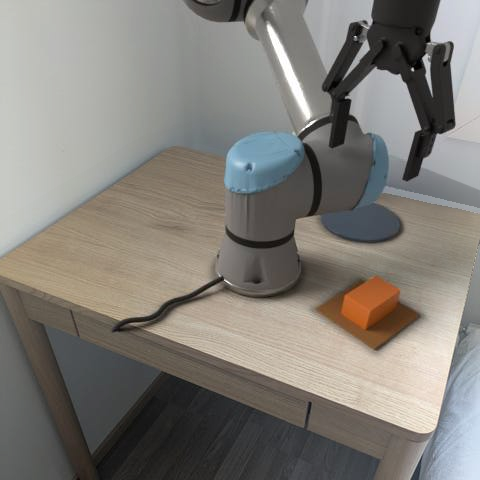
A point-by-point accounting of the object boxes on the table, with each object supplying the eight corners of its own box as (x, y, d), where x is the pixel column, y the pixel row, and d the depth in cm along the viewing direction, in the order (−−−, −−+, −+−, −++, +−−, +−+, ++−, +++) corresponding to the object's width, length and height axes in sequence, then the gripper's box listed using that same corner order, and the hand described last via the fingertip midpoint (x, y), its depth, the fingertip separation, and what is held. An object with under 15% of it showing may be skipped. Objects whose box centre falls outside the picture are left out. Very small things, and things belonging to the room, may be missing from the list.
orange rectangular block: (365, 330, 77) (370, 311, 74) (340, 314, 80) (344, 295, 77) (395, 308, 81) (401, 289, 78) (371, 294, 84) (375, 275, 81)
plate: (366, 252, 94) (367, 249, 93) (304, 218, 102) (305, 215, 102) (414, 223, 102) (415, 221, 101) (353, 194, 110) (354, 192, 110)
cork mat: (374, 350, 74) (375, 348, 74) (315, 310, 81) (315, 308, 81) (419, 316, 80) (420, 314, 80) (361, 281, 87) (361, 279, 87)
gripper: (530, -2, 52) (462, 185, 66) (347, -34, 65) (324, 127, 79) (495, 6, 48) (431, 202, 62) (309, -30, 61) (291, 139, 76)
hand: (371, 160), depth 71 cm, fingers open, 13 cm apart
